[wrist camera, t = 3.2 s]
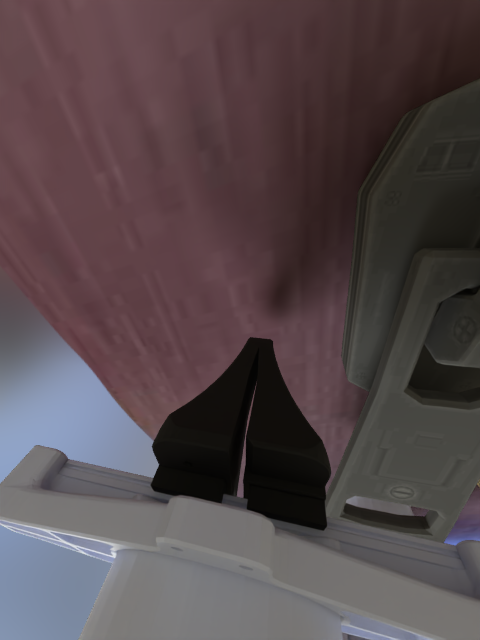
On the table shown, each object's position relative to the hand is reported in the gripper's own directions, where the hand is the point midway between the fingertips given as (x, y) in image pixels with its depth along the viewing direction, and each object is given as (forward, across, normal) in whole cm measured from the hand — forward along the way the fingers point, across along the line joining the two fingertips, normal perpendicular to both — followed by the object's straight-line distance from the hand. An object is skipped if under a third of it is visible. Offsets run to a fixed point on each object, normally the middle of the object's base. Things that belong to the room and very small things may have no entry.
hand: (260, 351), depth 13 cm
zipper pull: (+3, -9, +1) cm, 9 cm away
